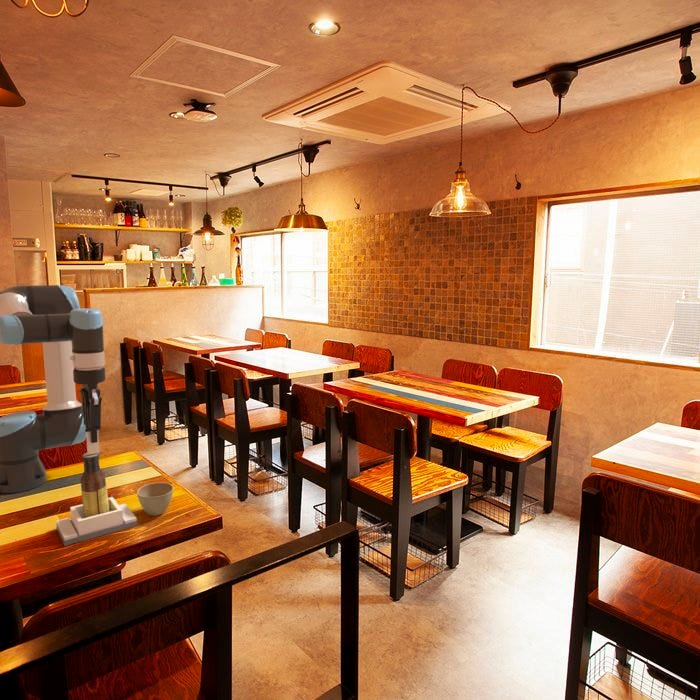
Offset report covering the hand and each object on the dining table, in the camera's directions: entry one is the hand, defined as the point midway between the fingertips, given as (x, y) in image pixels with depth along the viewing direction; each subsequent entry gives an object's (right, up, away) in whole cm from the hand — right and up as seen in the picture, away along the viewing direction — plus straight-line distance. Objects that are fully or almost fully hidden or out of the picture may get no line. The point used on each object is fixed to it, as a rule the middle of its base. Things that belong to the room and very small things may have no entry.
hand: (93, 452), depth 139 cm
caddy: (-1, -21, +3) cm, 22 cm away
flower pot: (+12, -20, +13) cm, 27 cm away
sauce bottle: (-1, -20, +3) cm, 20 cm away
